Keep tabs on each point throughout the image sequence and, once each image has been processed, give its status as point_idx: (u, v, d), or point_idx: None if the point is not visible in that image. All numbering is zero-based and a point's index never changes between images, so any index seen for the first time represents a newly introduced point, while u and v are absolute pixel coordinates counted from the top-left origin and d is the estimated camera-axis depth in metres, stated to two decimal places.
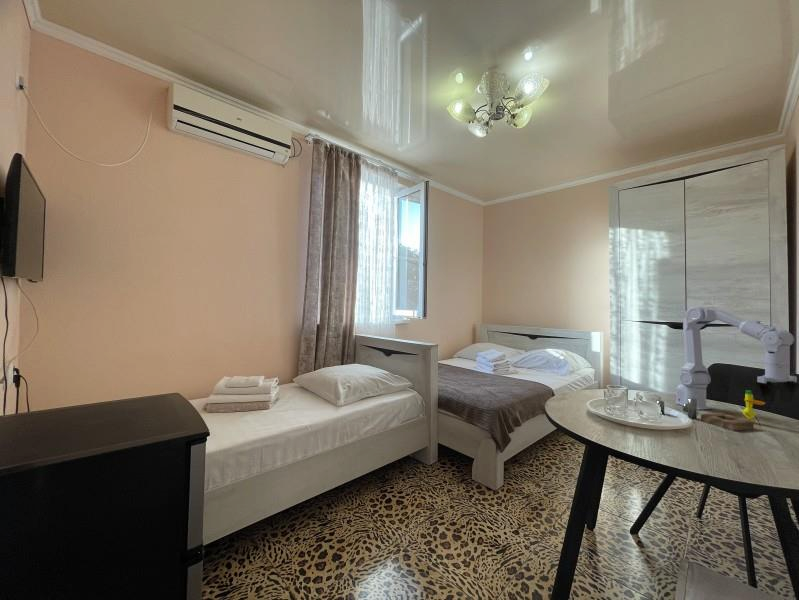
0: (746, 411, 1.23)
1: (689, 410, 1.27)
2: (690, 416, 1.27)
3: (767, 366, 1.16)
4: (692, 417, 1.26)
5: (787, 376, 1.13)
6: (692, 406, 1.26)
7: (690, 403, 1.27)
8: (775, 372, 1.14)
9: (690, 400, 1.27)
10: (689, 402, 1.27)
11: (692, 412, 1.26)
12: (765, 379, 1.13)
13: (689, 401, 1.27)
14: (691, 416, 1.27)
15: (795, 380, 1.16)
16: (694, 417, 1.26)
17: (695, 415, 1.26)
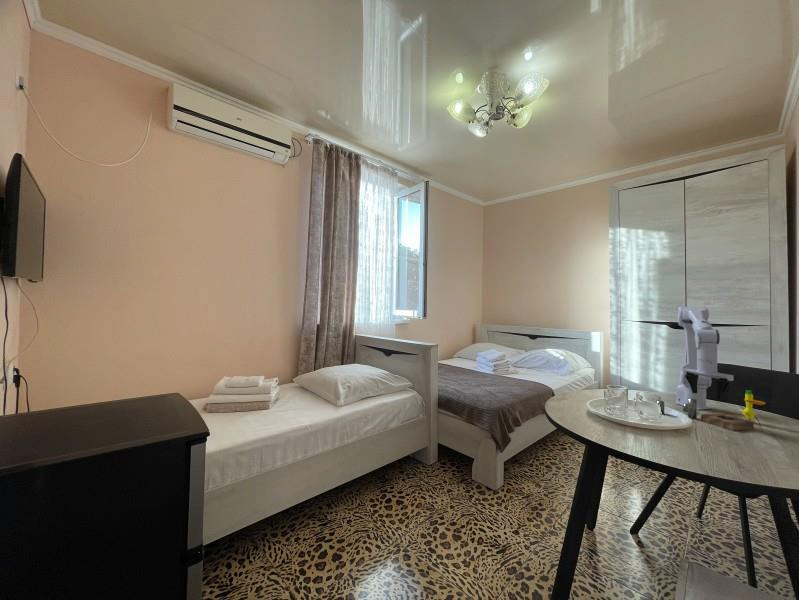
0: (746, 411, 1.23)
1: (689, 410, 1.27)
2: (690, 416, 1.27)
3: None
4: (692, 417, 1.26)
5: (702, 370, 1.24)
6: (692, 406, 1.26)
7: (690, 403, 1.27)
8: (697, 366, 1.27)
9: (690, 400, 1.27)
10: (689, 402, 1.27)
11: (692, 412, 1.26)
12: (684, 370, 1.31)
13: (689, 401, 1.27)
14: (691, 416, 1.27)
15: (728, 379, 1.19)
16: (694, 417, 1.26)
17: (695, 415, 1.26)
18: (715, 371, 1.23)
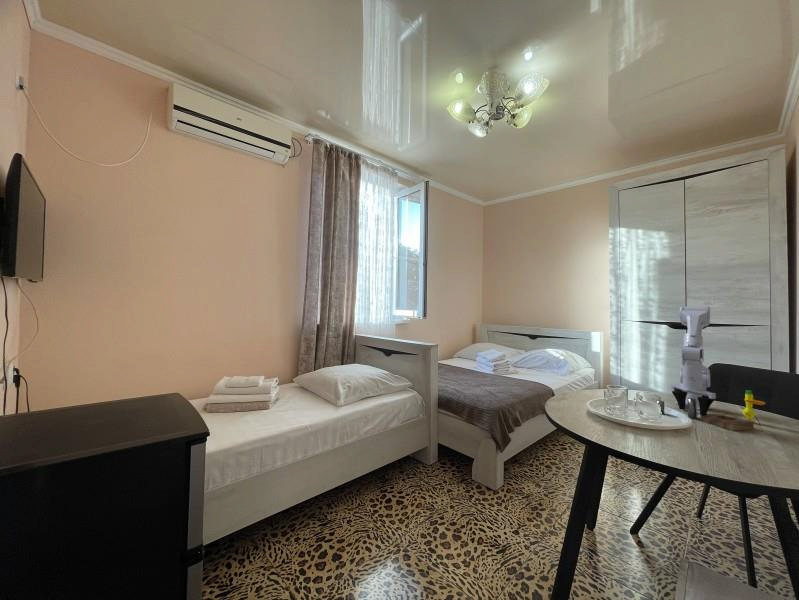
0: (746, 411, 1.23)
1: (689, 410, 1.27)
2: (690, 416, 1.27)
3: None
4: (692, 417, 1.26)
5: (686, 387, 1.27)
6: (692, 406, 1.26)
7: (690, 403, 1.27)
8: None
9: (690, 400, 1.27)
10: (689, 402, 1.27)
11: (692, 412, 1.26)
12: (672, 386, 1.34)
13: (689, 401, 1.27)
14: (691, 416, 1.27)
15: (709, 396, 1.21)
16: (694, 417, 1.26)
17: (695, 416, 1.26)
18: (699, 388, 1.25)
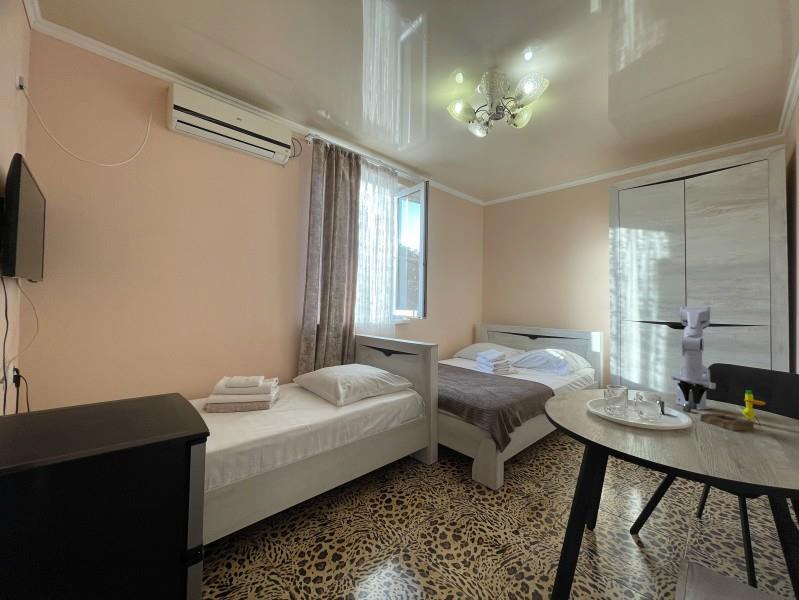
0: (746, 411, 1.23)
1: (689, 400, 1.27)
2: (690, 406, 1.27)
3: None
4: (692, 407, 1.27)
5: (686, 377, 1.27)
6: (692, 396, 1.27)
7: (690, 393, 1.27)
8: None
9: (690, 390, 1.27)
10: (689, 392, 1.27)
11: (693, 403, 1.26)
12: (672, 376, 1.34)
13: (689, 391, 1.27)
14: (691, 406, 1.27)
15: (709, 386, 1.21)
16: (694, 407, 1.26)
17: (695, 406, 1.26)
18: (698, 378, 1.25)
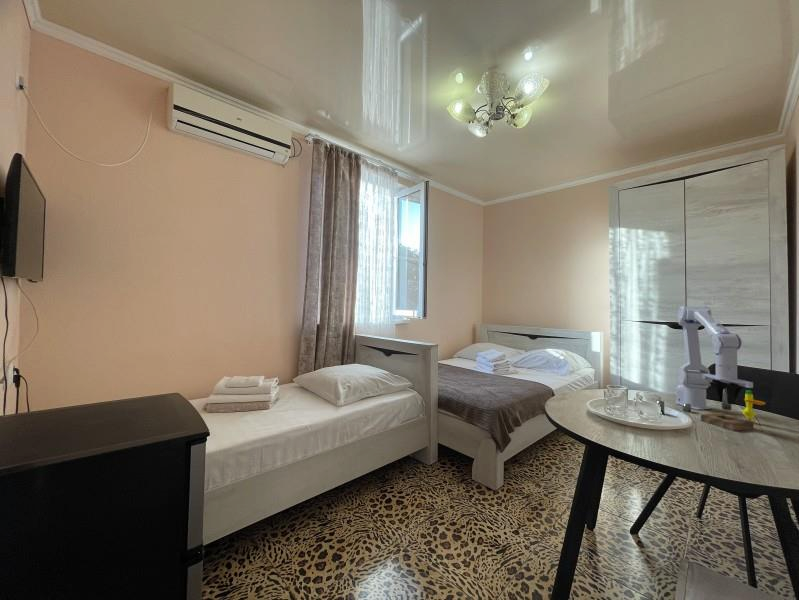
0: (746, 411, 1.23)
1: (723, 401, 1.21)
2: (724, 407, 1.20)
3: None
4: (727, 408, 1.20)
5: (720, 376, 1.20)
6: (727, 396, 1.20)
7: (724, 393, 1.20)
8: None
9: (724, 390, 1.20)
10: (723, 392, 1.21)
11: (727, 403, 1.20)
12: (703, 375, 1.27)
13: (723, 391, 1.21)
14: (725, 407, 1.20)
15: (746, 385, 1.14)
16: (729, 408, 1.19)
17: (730, 406, 1.19)
18: (734, 377, 1.18)
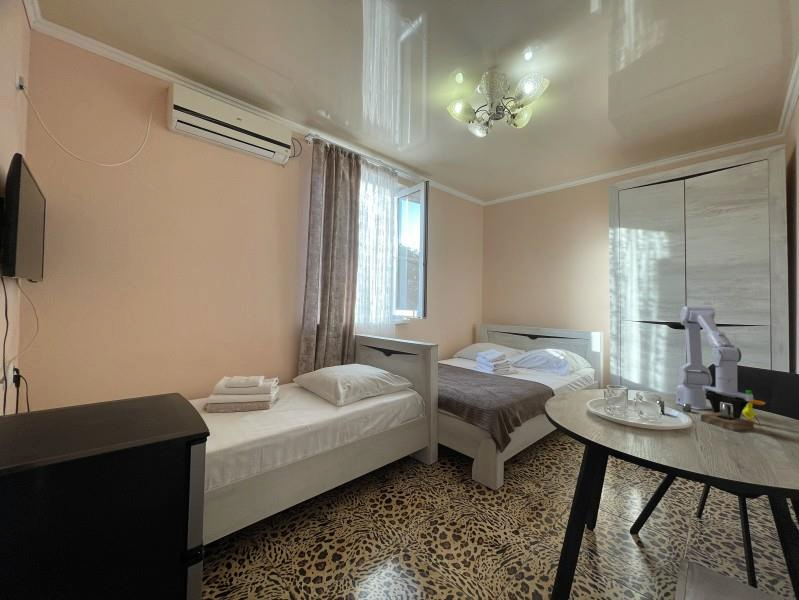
0: (746, 411, 1.23)
1: (723, 416, 1.21)
2: None
3: None
4: None
5: (720, 388, 1.20)
6: (726, 412, 1.20)
7: (724, 409, 1.20)
8: None
9: (724, 406, 1.20)
10: (723, 408, 1.21)
11: (727, 418, 1.20)
12: (703, 387, 1.27)
13: (723, 407, 1.21)
14: None
15: (746, 399, 1.14)
16: None
17: None
18: (734, 390, 1.18)
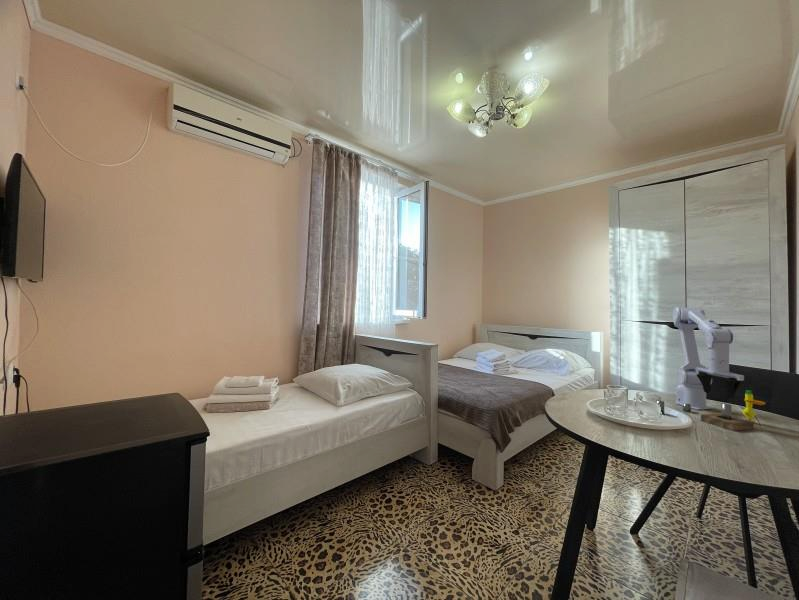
0: (746, 411, 1.23)
1: (723, 416, 1.21)
2: None
3: None
4: None
5: (712, 369, 1.25)
6: (726, 412, 1.20)
7: (724, 409, 1.20)
8: None
9: (724, 406, 1.20)
10: (723, 408, 1.21)
11: (727, 418, 1.20)
12: (696, 369, 1.32)
13: (723, 407, 1.21)
14: None
15: (737, 378, 1.18)
16: None
17: None
18: (725, 371, 1.22)
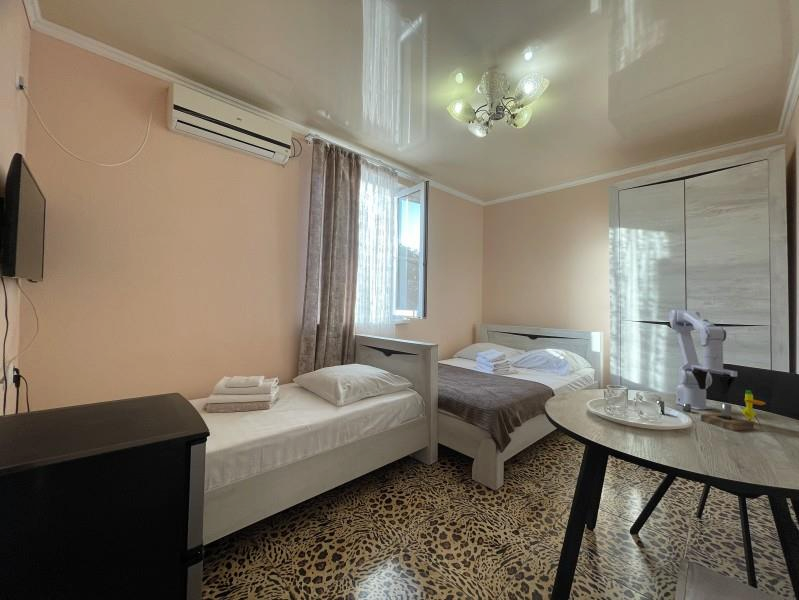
0: (746, 411, 1.23)
1: (723, 416, 1.21)
2: None
3: None
4: None
5: (707, 366, 1.28)
6: (726, 412, 1.20)
7: (724, 409, 1.20)
8: None
9: (724, 406, 1.20)
10: (723, 408, 1.21)
11: (727, 418, 1.20)
12: (692, 366, 1.35)
13: (723, 407, 1.21)
14: None
15: (731, 374, 1.22)
16: None
17: None
18: (720, 367, 1.26)
